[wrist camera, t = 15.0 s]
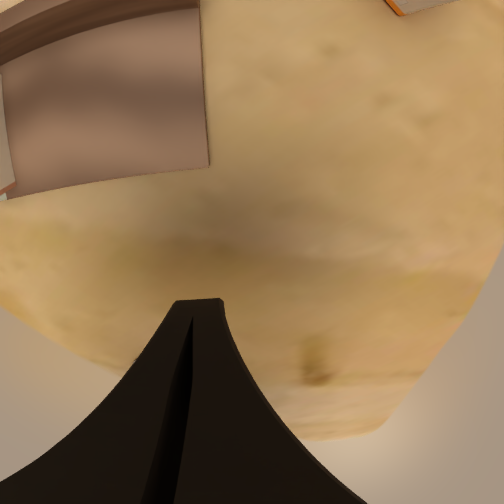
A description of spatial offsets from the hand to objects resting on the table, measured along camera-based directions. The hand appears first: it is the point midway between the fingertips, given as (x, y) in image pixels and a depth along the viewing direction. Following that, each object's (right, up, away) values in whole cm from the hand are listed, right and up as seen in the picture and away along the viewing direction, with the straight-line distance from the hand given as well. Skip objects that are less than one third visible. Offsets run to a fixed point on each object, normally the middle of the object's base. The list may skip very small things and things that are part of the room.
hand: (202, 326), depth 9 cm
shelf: (-12, +10, +5) cm, 16 cm away
